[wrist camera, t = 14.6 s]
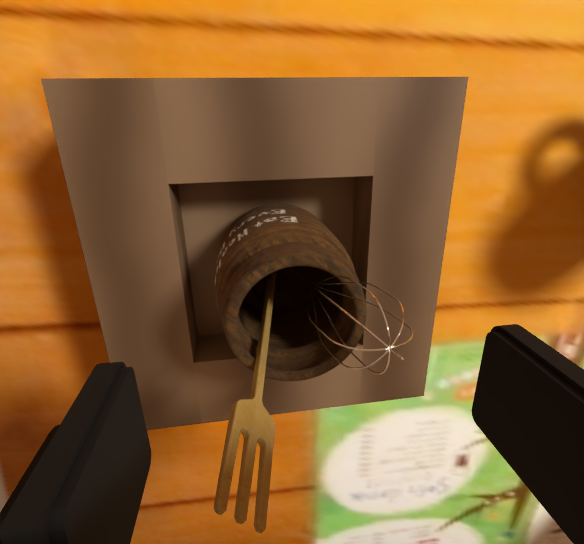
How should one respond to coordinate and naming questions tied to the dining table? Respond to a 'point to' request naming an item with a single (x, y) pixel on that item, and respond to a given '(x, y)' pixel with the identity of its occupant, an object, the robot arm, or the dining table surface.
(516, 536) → the dining table surface
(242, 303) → the utensil holder
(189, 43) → the dining table surface
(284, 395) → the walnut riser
